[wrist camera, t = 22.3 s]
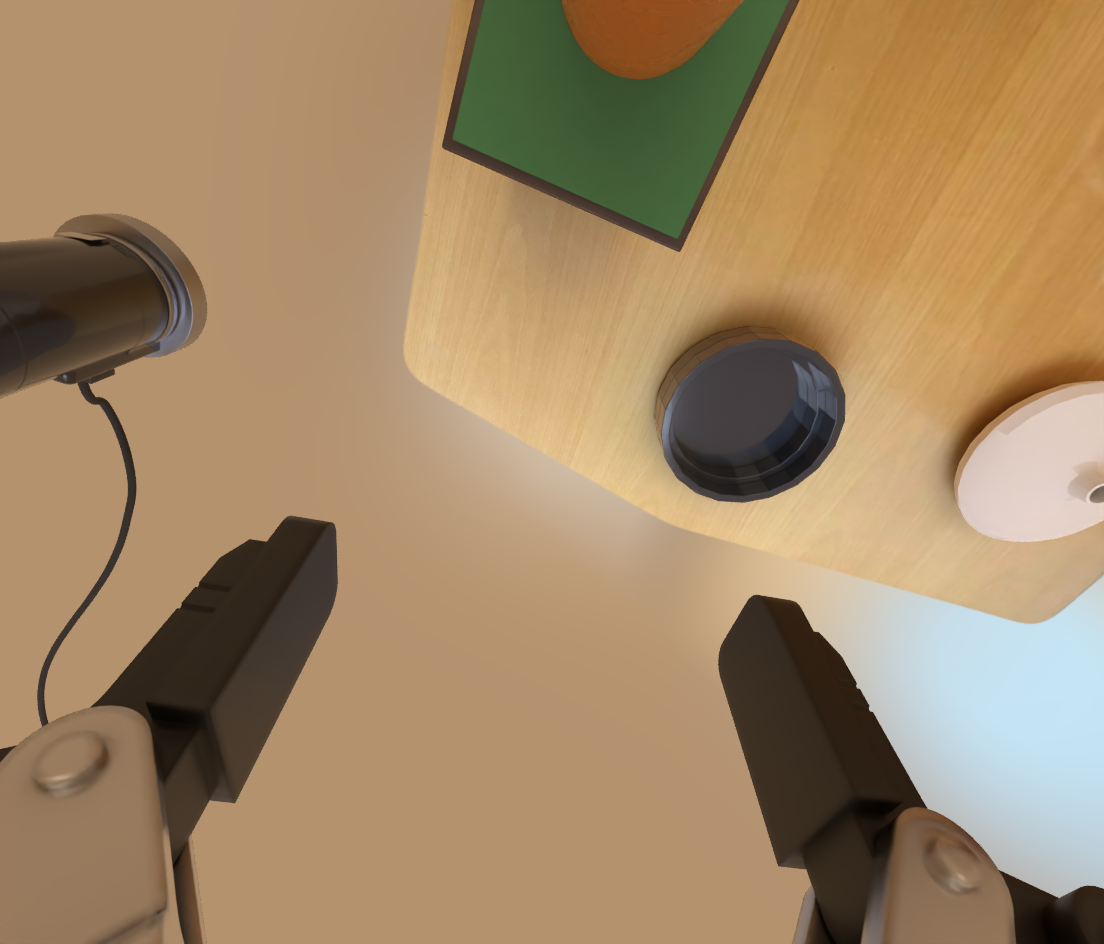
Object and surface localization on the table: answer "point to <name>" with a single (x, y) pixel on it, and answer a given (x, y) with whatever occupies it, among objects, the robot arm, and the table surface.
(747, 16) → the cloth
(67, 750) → the robot arm
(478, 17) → the stand
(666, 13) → the orange can
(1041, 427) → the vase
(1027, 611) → the table surface
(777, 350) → the pot
